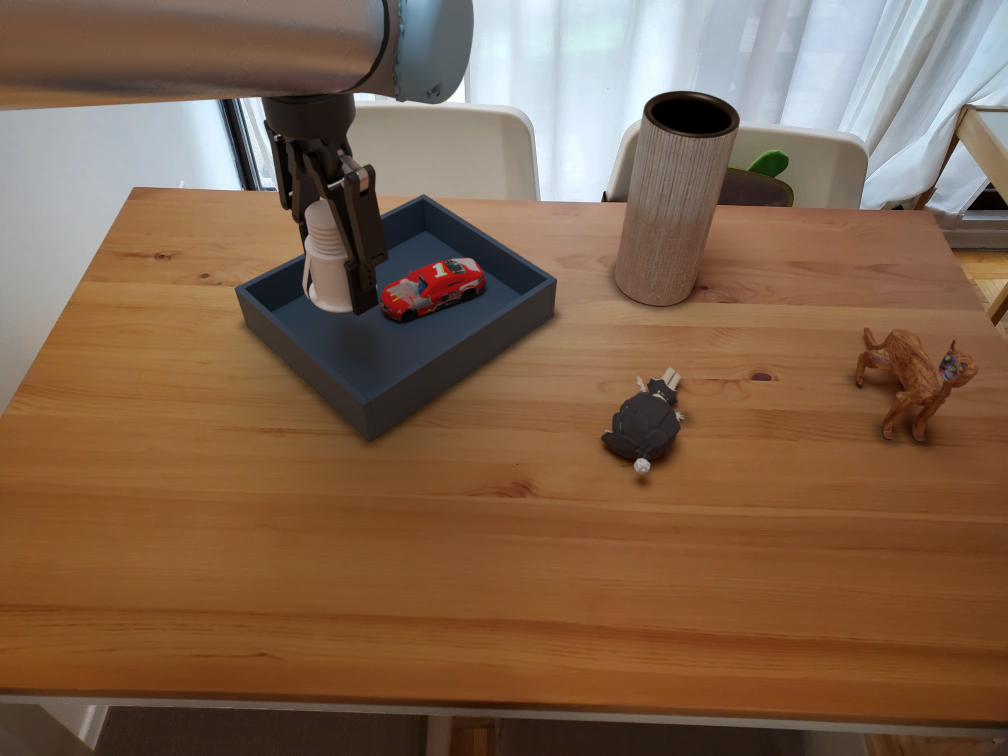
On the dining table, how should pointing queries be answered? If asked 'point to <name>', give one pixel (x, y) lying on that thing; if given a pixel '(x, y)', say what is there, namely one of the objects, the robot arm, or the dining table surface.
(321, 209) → the downlight
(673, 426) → the figurine
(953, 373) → the cat figurine
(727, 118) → the planter
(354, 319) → the tote
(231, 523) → the dining table surface
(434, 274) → the race car
